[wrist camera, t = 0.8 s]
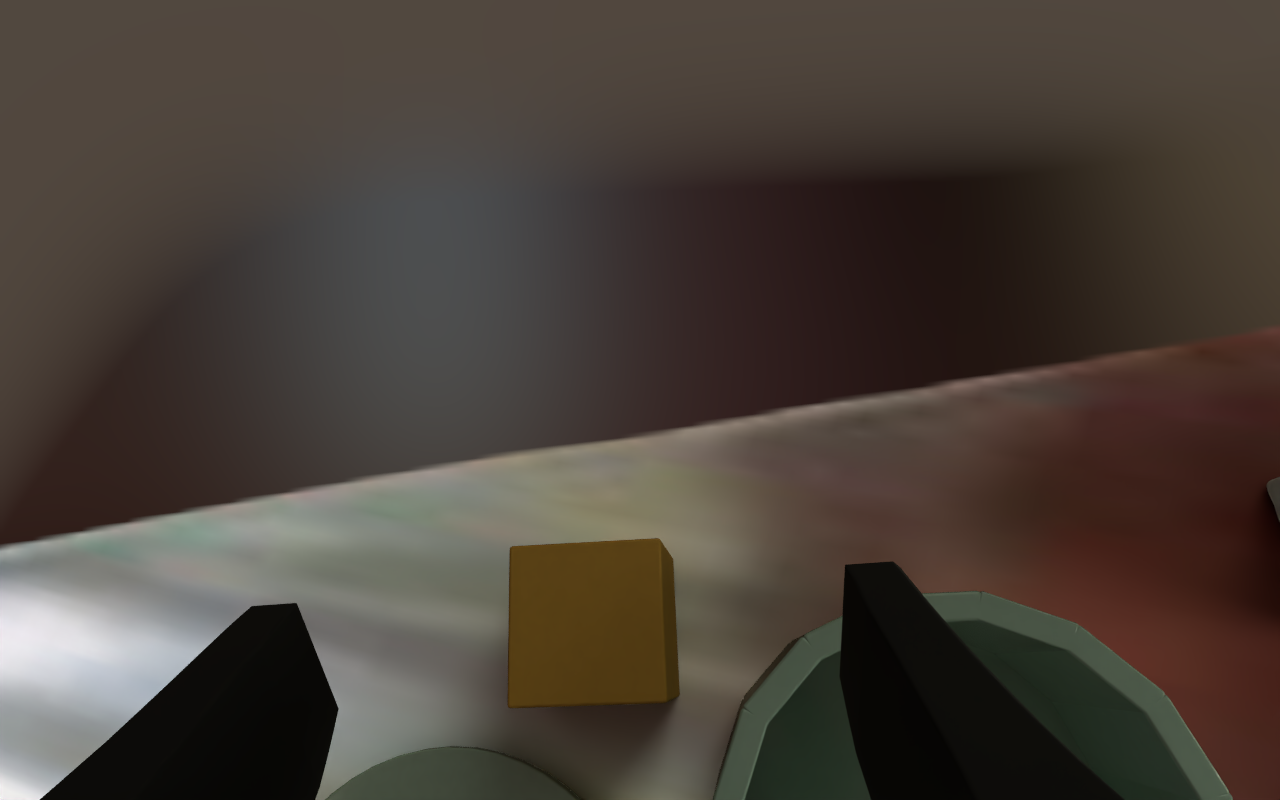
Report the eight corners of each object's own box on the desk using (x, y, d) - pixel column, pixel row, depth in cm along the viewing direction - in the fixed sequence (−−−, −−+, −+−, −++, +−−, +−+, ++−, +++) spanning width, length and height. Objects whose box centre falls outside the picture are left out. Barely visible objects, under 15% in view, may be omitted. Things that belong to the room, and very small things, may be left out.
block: (679, 697, 26) (667, 703, 22) (544, 701, 26) (506, 708, 22) (673, 557, 27) (660, 537, 23) (544, 563, 28) (508, 545, 23)
